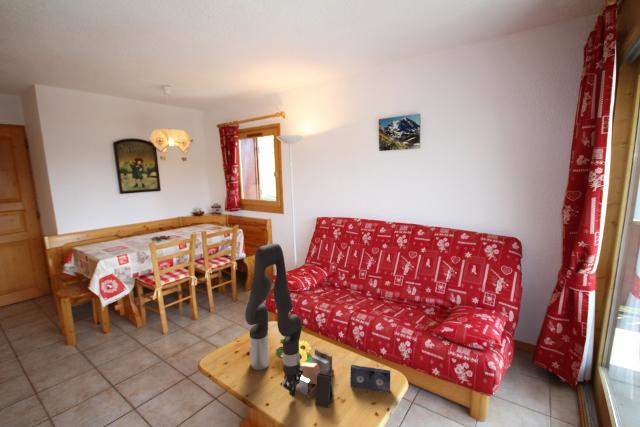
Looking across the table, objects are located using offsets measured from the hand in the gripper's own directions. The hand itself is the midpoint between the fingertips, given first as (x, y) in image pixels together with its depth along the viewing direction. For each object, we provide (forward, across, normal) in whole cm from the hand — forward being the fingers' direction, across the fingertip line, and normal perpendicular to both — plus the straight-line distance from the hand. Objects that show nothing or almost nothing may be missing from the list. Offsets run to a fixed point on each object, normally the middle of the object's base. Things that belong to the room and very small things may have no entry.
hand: (292, 395), depth 136 cm
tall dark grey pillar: (+2, +14, 0) cm, 14 cm away
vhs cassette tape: (+2, +26, -25) cm, 36 cm away
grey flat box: (+2, +6, 0) cm, 6 cm away
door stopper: (+2, +8, -12) cm, 14 cm away
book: (+1, +13, -2) cm, 13 cm away
